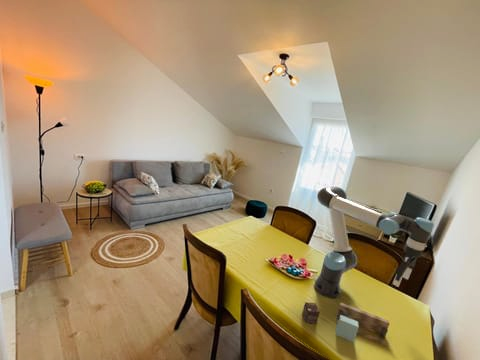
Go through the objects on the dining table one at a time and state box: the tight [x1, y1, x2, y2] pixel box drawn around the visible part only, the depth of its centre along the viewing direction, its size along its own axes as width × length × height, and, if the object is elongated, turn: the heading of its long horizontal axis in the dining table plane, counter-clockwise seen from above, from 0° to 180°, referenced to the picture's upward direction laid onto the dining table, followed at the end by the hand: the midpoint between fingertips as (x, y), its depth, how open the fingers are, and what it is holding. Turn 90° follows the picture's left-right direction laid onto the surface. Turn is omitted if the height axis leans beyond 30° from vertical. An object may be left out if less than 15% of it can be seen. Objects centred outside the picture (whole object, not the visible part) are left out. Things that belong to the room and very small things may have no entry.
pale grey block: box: [335, 315, 360, 343], centre depth 110 cm, size 8×4×9 cm, turn 69°
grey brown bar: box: [335, 301, 391, 347], centre depth 116 cm, size 23×8×8 cm, turn 69°
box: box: [302, 301, 321, 325], centre depth 118 cm, size 6×6×7 cm
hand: (400, 281), depth 123 cm, fingers open, 13 cm apart
